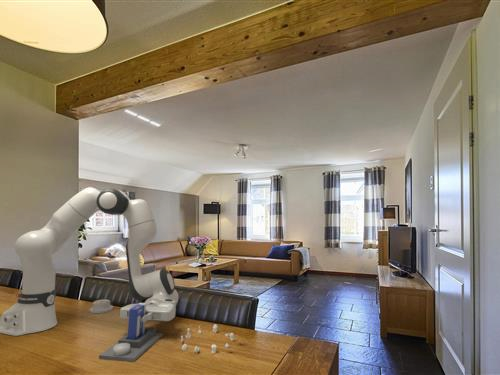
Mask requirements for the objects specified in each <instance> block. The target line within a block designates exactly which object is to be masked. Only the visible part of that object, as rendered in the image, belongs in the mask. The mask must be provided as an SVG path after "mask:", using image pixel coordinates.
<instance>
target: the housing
mask: <svg viewBox="0 0 500 375" xmlns="http://www.w3.org/2000/svg"><path fill="white" fill-rule="evenodd" d="M156 330H157V328H156V327H145V332H144V335H143V336H141V337H140V338H139V339H137V340H131V339H127V338H128V333H126V334H125V335H124V336H122V337H120V338H119V339H118V340H117V342H116V343H114V344H113V345H111V346H110V347H109V348H107V349H106V350H104V351H103V352H101V353H100V354H99V355H98V359H99V360H100V359H102V360H111V361H123V362H135V361H136V360H138V358H139V357H141V356H142V355H143V354H144V353H145V352H146V351H147V350H149V349H150V348H151V347H152V346H153V345H155V343H156V342H157V341H159V338H160V337H161V338H162V337H163V333H162V332H161V333H160V332H157V331H156ZM161 338H160V339H161Z"/></svg>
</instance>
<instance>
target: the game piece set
mask: <svg viewBox="0 0 500 375" xmlns="http://www.w3.org/2000/svg"><path fill="white" fill-rule="evenodd" d="M218 328H219V326H218V325H217V324H214V325H213V326H212V331H213V333H214V334H216V333H217V331H218ZM198 329H199V330H197V331H198V334H199V335H200V334H202V333H203V332H202V331H201V327H200V326H198ZM190 331H191V329H190V327H188V328H187V333H186V334H185V338H187V339H188V338H191V337H192V334H191V333H190ZM234 335H235V334H234V332H228V333H225V334H224V336H225V337H228V336H229V337H230V338H229V339H230V341H231V342H233V341H234V338H235V336H234ZM180 338H181V340H180V341H181V343H183V342H184V335H181V336H180ZM181 348H182V349H181V350H182V351H187V350H188V345H187V343H183V345H182V346H181ZM225 348H226V349H229V348H230V345H229V344H228V343H226V344H225ZM186 349H187V350H186ZM211 349H212V350H211V354H216V353H217V351H216V349H217V345H216V344H212V345H211ZM193 352H195V354H198V352H200V348H199V347H198V346H197V345H196V346H195V348H194V350H193Z"/></svg>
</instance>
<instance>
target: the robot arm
mask: <svg viewBox="0 0 500 375" xmlns="http://www.w3.org/2000/svg"><path fill="white" fill-rule="evenodd" d="M99 211H101V212H102V213H104V214H106V215H109V216H123V217H124V219H126V222H127V226H128V230H129V236H128V237H129V239H128V241H126V245H125V252H126V253H125V255H126V264H127V272H128V291H129V294H130V297H132V298H133V299H134V300H136V301H142V300H145V299H146V300H145V301H144V303H146V315H142V316H141V317H140V322H145V323H146V322H147V321H158V322H159V321H160V322H171V321H172V320H173V319H174V318H175V317H176V311H177V309H176V306H177V303H178V301H179V293H178V291H177V290H176V289H175V287H176V284H175V279H174V277H173V274H172V273H170V271H169V270H167V269H165V268H161V269H158V270H154V271H152V272H148V273H145V274H142V269H141V260H140V258H141V257H140V256H141V252H142V251H143V249H145V248H146V247H147V246H148V245H149V244H151V243H152V242H153V240H154V239H155V238H156V235H157V233H158V229H157V224H156V221H155V217H154V214H153V212H152V209H151V207H150V206H149V203H148V202H147V201H146V200H145V199H142V198H137V199H131V197H130V196H129V195H128V193H125V191H123V190H120V189H116V188H106V189H104V190H101V191H100V190H99V189H97V188H95V187H92V186H90V187H89V186H87V187H86V188H84V189H82V190H80V191H79V192H78V193H76V194H75V195H73V196H72V197H71V198H70V199H68V200H67V201H66V202H65V203H64V204H63V205H62V206H61V207H59V208H58V209H57V210H56V211H55V212H54V213H52V215H51V217H50V218H49V221H48V222H47V223H46V225H44V226H43V227H41V229H38V230H32V231H31V230H30V231H28V232H26V233H24V234H22V235H21V236H20V237H18V238H17V239H16V241H15V243H14V251H15V253H16V255H18V257H19V260H20V265H21V270H22V286H21V287H22V288H21V293H19V294H15V296H14V297H15V298H16V299H17V301H16V302H15V303H14V304H13V305H12V306H10V307H8V308H7V309H6V310H5V311H3V313H2V314H1V317H0V334H5V335H9V336H13V337H18V336H23V335H26V334H27V335H28V334H33V333H38V332H43V331H46V330H49V329H52V328H53V327H55V326H57V325H58V320H57V316H56V306H55V305H56V304H55V301H56V298H57V297H56V296H57V295H56V294H57V289H56V288H55V287H56V272H57V271H56V268H55V266H54V262H53V258H52V256H53V254H56V253H57V252H58V251H59V250H60V249H61V248H63V246H64V245H65V244H66V242H67V241H68V240H69V239H70V238H71V237H72V235H73V234H75V232H76V231H78V229H79V228H81V226H83V225H84V224H85V223H86V222H87V221H88V220H89V219H91V217H92V216H93V215H95V214H96V213H97V212H99ZM137 304H138V303H131V304H127V305H125V306H122V307H121V308H120V309H119V317H120V318H121V319H126V320H129V310H130V309H131V308H132V307H134V306H136V305H137Z"/></svg>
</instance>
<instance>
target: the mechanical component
mask: <svg viewBox="0 0 500 375" xmlns="http://www.w3.org/2000/svg"><path fill="white" fill-rule="evenodd" d="M112 310H114V306H113V304H111V300H109V299H97V300H94V301H93V302H92V307H90V308H89V313H90V314H104V313H108V312H111V311H112Z"/></svg>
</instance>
